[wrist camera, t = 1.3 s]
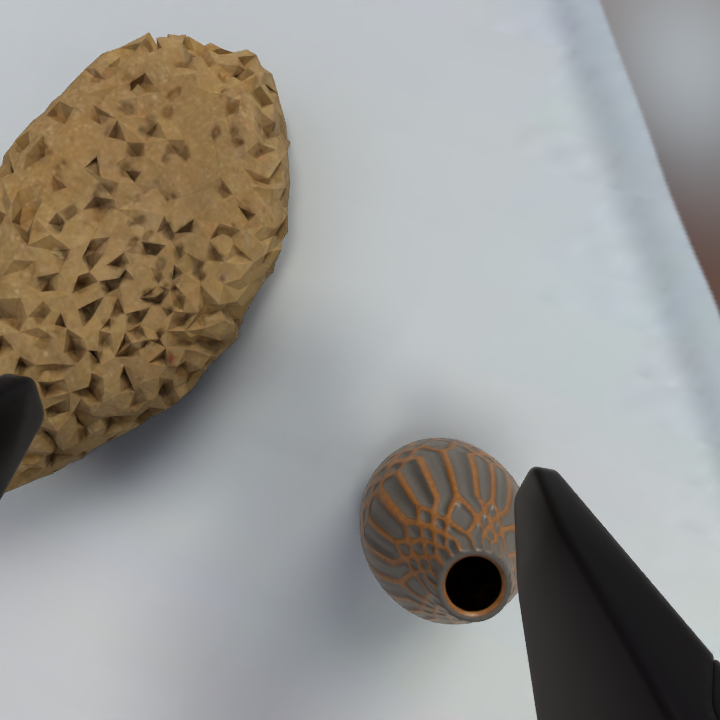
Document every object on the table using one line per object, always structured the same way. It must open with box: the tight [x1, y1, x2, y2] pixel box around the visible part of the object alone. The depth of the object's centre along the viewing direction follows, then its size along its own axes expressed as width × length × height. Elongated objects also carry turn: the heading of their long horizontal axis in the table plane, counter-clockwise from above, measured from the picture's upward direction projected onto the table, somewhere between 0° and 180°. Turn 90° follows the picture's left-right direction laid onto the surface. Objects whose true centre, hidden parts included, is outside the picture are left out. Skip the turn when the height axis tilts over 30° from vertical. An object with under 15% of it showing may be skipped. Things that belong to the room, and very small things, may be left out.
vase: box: [360, 438, 519, 624], centre depth 20 cm, size 7×7×9 cm
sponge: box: [0, 33, 290, 493], centre depth 20 cm, size 13×8×20 cm
